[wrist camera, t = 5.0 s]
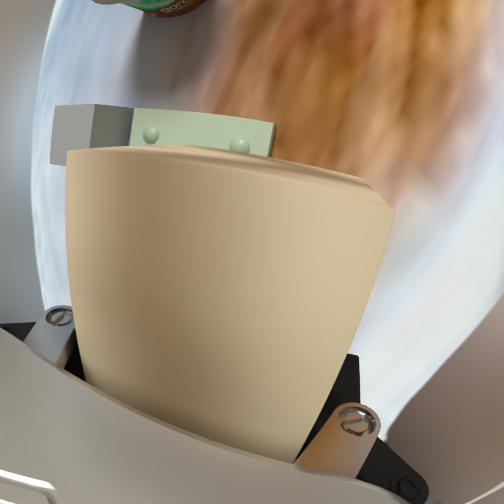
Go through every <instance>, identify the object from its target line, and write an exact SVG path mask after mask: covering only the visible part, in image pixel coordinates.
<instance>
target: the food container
mask: <svg viewBox="0 0 504 504" xmlns="http://www.w3.org/2000/svg"><path fill="white" fill-rule="evenodd" d="M92 1H94V2H95V3H99V4H107V5H109V4H117V3H122V4H125V5H128V6H131V7H133V8H136V9H139V10H142V11H144V12H147V13H150V14H152V15H155V16H158V17H174V16H178V15H182V14H185V13H187V12H189V11H191V10H193V9H195V8H197V7H198V6H200V5H201V4H202V3H203V2H205V1H206V0H92Z"/></svg>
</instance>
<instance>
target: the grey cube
mask: <svg viewBox="0 0 504 504" xmlns="http://www.w3.org/2000/svg"><path fill="white" fill-rule="evenodd" d="M132 112H133V108H127V107H119V106H109V105H99V104H82V105H60V106H55V112H54V120H53V129H52V139H51V151H50V164H55V165H62V166H66V161H67V151H69V150H79V149H90V148H104V147H120V146H128V140H129V132H130V125H131V118H132Z"/></svg>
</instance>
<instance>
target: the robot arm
mask: <svg viewBox="0 0 504 504" xmlns="http://www.w3.org/2000/svg"><path fill="white" fill-rule="evenodd" d="M380 428H381V423H380V419H379V417H378V415H377V414H376V413H375V412H374V411H373V410H372V409H370V408H369V407H367V406H365V405H362V404H360V372H359V357H358V356H357V355H353V354H348V353H347V355H346V357H345V360H344V362H343V364H342V367H341V369H340V371H339V373H338V376H337V378H336V380H335V382H334V384H333V387H332V389H331V391H330V393H329V395H328V397H327V399H326V401H325V403H324V406H323V408H322V410H321V412H320V414H319V416H318V418H317V420H316V422H315V423H314V425H313V427H312V429H311V431H310V433H309V435H308V437H307V439H306V441H305V442H304V444H303V446H302V448H301V450H300V451H299V453H298V455H297V457H296V461H295V463H294V464H290V463H286V462H282V461H279V460H275V459H271V458H267V457H264V456H260V455H257V454H253V453H250V452H247V451H243V450H240V449H237V448H234V447H230V446H227V445H224V444H221V443H218V442H216V441H213V440H210V439H207V438H204V437H202V436H199V435H196V434H194V433H191V432H188V431H186V430H183V429H181V428H178V427H176V426H174V425H171V424H169V423H166V422H164V421H162V420H159V419H157V418H155V417H153V416H150V415H148V414H146V413H144V412H142V411H140V410H138V409H135V408H133V407H131V406H129V405H127V404H125V403H123V402H121V401H119V400H117V399H115V398H114V397H112V396H110V395H108V394H106V393H104V392H102V391H100V390H99V389H97V388H95V387H93V386H91V385H90V384H88V383H86V379H85V374H84V370H83V366H82V361H81V356H80V351H79V346H78V341H77V335H76V329H75V323H74V317H73V310H72V307H71V306H65V305H60V306H54V307H51V308H49V309H48V310H46V311H45V312H44V313H43V315H42V316H41V317H40V319H39V320H38V321H37V322H32V323H31V322H29V323H9V324H0V504H444V503H442V502H441V501H440V500H439V499H438V498H435V499H434V500H432V499H431V498H430V497H429V496H428V495H429V489H428V485H427V483H426V481H425V480H424V479H423V478H422V476H420V475H419V474H418V473H417V472H416V471H415V470H414V469H412V468H411V467H410V466H409V465H408V464H407V463H406V462H405V461H404V460H402V459H401V458H400V457H399V456H398V455H397V454H396V453H395V452H394V451H392V449H390V448H389V447H388V446H387V445H386V444H385V443H384V442H383V441H382V440H381V439H380V438H379V437H377V436H378V434H379V432H380Z"/></svg>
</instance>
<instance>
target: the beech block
mask: <svg viewBox="0 0 504 504" xmlns="http://www.w3.org/2000/svg"><path fill="white" fill-rule="evenodd" d="M395 212H396V211H395V210H394V209H393V208H392V207H391V206H390V205H389V204H388V203H387V202H386V201H385V200H384V199H383V198H382V197H380V196H379V195H378V194H377V193H376V192H375V191H374V190H373V189H372V188H371V187H370V186H369V185H368V184H367V183H366V182H365V181H364V180H363V179H362V178H359V177H355V176H352V175H348V174H344V173H340V172H335V171H331V170H327V169H323V168H318V167H314V166H310V165H305V164H300V163H296V162H291V161H286V160H281V159H276V158H271V157H266V156H260V155H255V154H249V153H243V152H237V151H231V150H225V149H219V148H212V147H205V146H198V145H141V146H120V147H104V148H90V149H79V150H69V151H67V161H66V183H65V228H66V250H67V264H68V276H69V286H70V295H71V303H72V310H73V317H74V323H75V329H76V335H77V341H78V346H79V351H80V356H81V361H82V366H83V370H84V374H85V379H86V383H88V384H90V385H91V386H93V387H95V388H97V389H99V390H100V391H102V392H104V393H106V394H108V395H110V396H112V397H114V398H115V399H117V400H119V401H121V402H123V403H125V404H127V405H129V406H131V407H133V408H135V409H138V410H140V411H142V412H144V413H146V414H148V415H150V416H153V417H155V418H157V419H159V420H162V421H164V422H166V423H169V424H171V425H174V426H176V427H178V428H181V429H183V430H186V431H188V432H191V433H194V434H196V435H199V436H202V437H204V438H207V439H210V440H213V441H216V442H218V443H221V444H224V445H227V446H230V447H234V448H237V449H240V450H243V451H247V452H250V453H253V454H257V455H260V456H264V457H267V458H271V459H275V460H279V461H282V462H286V463H290V464H293V462H294V460H295V459H296V457H297V455H298V453H299V451H300V450H301V448H302V446H303V444H304V442H305V441H306V439H307V437H308V435H309V433H310V431H311V429H312V427H313V425H314V423H315V422H316V420H317V418H318V416H319V414H320V412H321V410H322V408H323V406H324V403H325V401H326V399H327V397H328V395H329V393H330V391H331V389H332V387H333V384H334V382H335V380H336V378H337V376H338V373H339V371H340V369H341V367H342V364H343V362H344V360H345V357H346V355H347V353H348V350H349V348H350V346H351V343H352V341H353V338H354V336H355V333H356V331H357V328H358V326H359V323H360V320H361V318H362V315H363V312H364V310H365V307H366V304H367V302H368V299H369V296H370V293H371V290H372V287H373V285H374V282H375V279H376V276H377V273H378V270H379V267H380V263H381V260H382V257H383V254H384V251H385V247H386V244H387V241H388V237H389V234H390V230H391V227H392V223H393V220H394V216H395Z"/></svg>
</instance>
